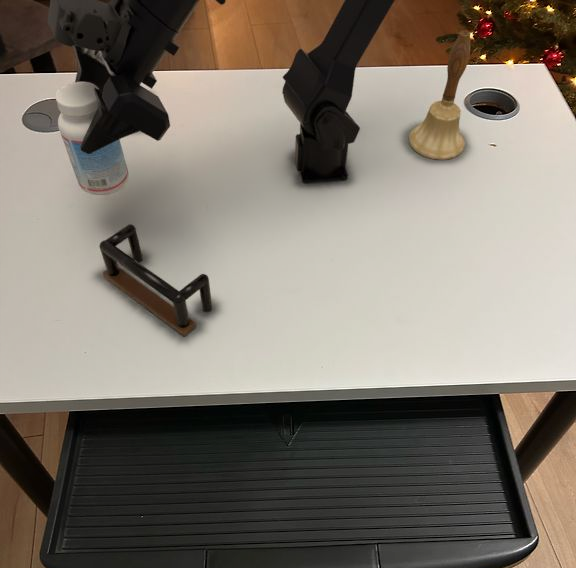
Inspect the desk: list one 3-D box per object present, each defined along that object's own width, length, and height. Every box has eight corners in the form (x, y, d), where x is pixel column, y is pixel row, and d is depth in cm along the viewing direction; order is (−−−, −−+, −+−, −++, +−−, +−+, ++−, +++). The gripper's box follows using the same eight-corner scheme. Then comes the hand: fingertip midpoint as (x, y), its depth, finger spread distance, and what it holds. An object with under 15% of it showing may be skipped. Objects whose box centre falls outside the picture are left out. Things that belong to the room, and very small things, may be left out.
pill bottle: (138, 172, 74) (118, 85, 65) (111, 203, 71) (85, 116, 62) (97, 159, 76) (70, 71, 66) (68, 189, 73) (36, 101, 63)
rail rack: (136, 253, 76) (127, 218, 72) (216, 309, 72) (213, 276, 67) (103, 277, 74) (91, 242, 69) (184, 337, 69) (177, 304, 65)
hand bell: (475, 152, 89) (511, 41, 76) (425, 165, 87) (453, 54, 74) (446, 120, 93) (475, 10, 80) (398, 132, 91) (420, 21, 78)
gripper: (61, -84, 59) (-10, 52, 66) (110, 4, 50) (23, 152, 57) (152, -11, 68) (82, 103, 75) (209, 75, 59) (123, 197, 65)
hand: (77, 135), depth 68 cm, fingers closed on pill bottle, 6 cm apart
